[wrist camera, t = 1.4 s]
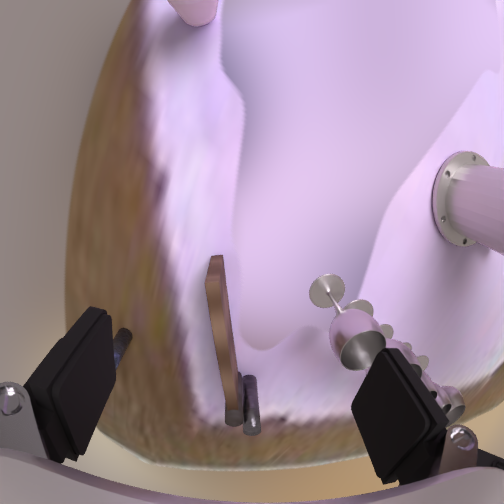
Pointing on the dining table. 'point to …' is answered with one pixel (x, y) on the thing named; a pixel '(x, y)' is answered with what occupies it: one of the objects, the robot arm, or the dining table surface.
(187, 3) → the smoothie
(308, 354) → the dining table surface
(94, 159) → the dining table surface
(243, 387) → the grey upright cylinders
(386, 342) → the goblet set
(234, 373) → the gate
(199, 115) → the dining table surface
